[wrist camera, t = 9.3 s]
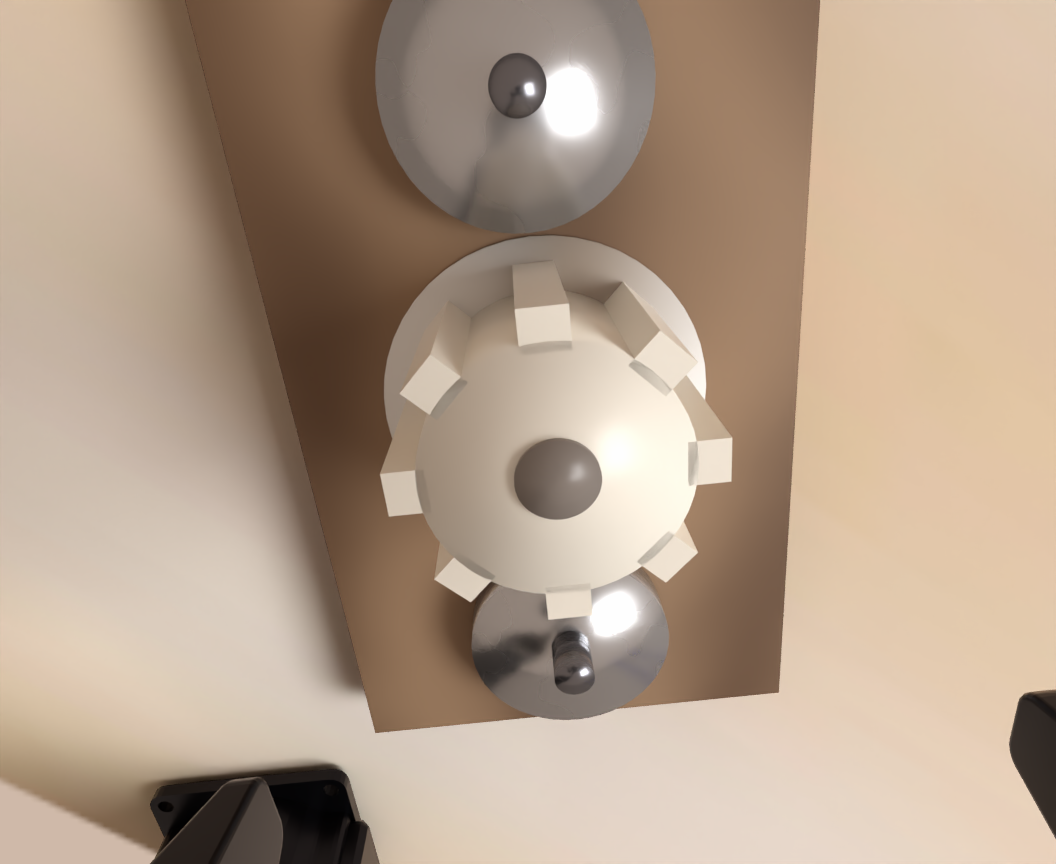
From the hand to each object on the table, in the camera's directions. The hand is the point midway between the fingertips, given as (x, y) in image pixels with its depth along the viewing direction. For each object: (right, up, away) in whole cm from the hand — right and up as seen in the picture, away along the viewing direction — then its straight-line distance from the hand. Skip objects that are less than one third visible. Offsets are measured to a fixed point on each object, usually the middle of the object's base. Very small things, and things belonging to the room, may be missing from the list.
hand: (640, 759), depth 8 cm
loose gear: (-1, +5, +8) cm, 9 cm away
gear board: (-1, +5, +10) cm, 11 cm away
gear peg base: (-1, +5, +8) cm, 9 cm away
